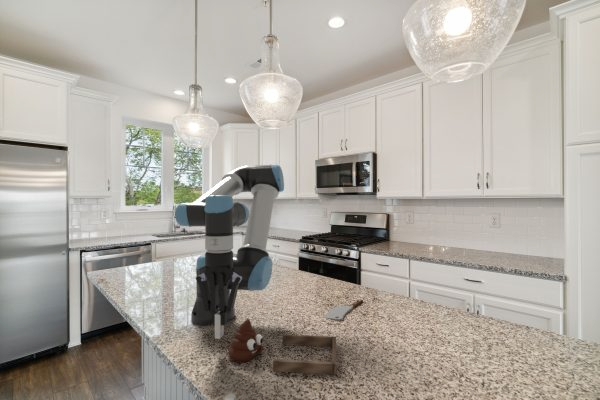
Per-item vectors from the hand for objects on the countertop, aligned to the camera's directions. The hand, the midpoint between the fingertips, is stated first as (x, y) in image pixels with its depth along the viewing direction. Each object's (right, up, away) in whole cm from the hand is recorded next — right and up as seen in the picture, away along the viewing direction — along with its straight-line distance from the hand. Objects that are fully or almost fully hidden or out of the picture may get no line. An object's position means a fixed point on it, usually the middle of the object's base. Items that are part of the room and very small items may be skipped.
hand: (219, 336), depth 81 cm
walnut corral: (+24, -4, -3) cm, 24 cm away
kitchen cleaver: (+39, -5, +33) cm, 51 cm away
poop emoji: (+8, -5, -1) cm, 9 cm away
